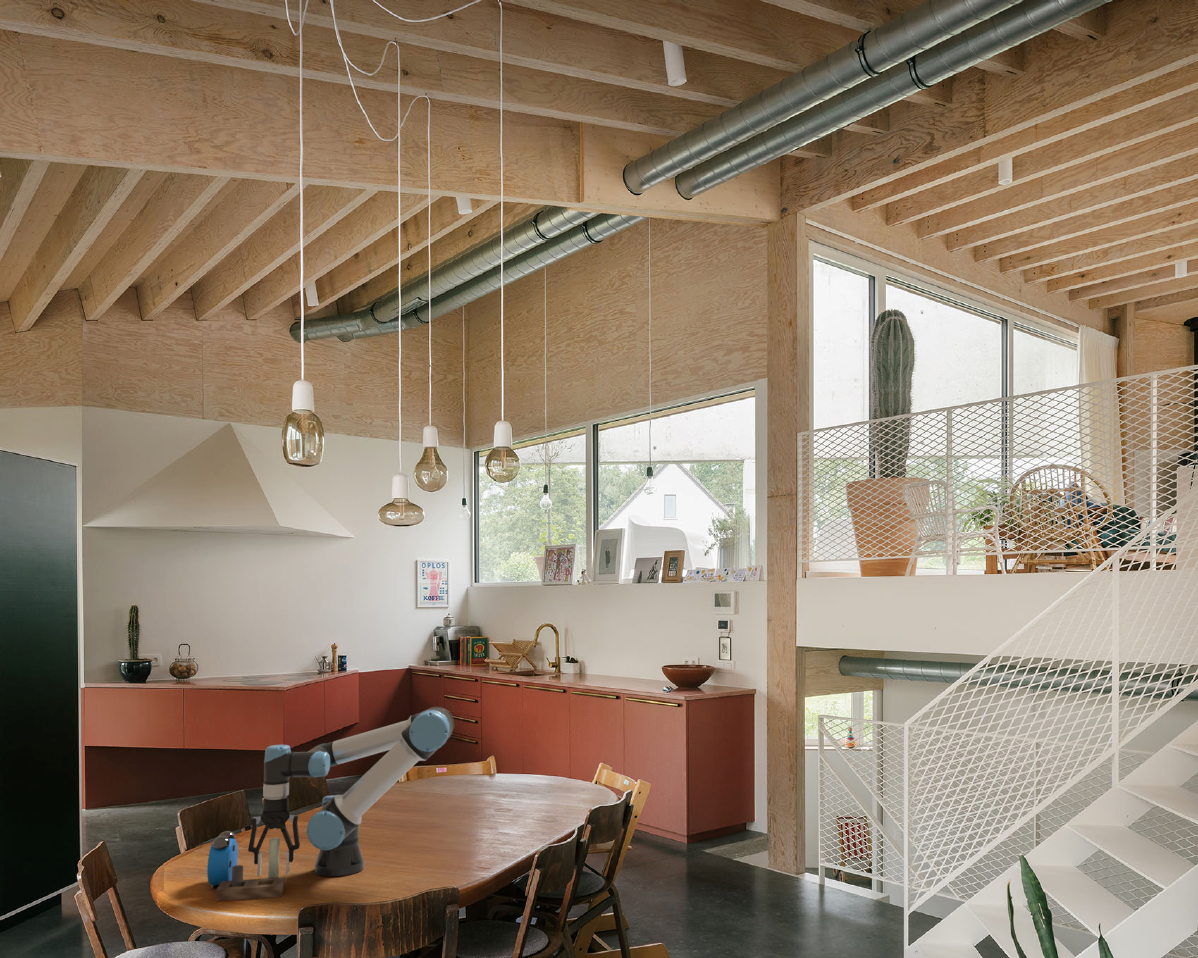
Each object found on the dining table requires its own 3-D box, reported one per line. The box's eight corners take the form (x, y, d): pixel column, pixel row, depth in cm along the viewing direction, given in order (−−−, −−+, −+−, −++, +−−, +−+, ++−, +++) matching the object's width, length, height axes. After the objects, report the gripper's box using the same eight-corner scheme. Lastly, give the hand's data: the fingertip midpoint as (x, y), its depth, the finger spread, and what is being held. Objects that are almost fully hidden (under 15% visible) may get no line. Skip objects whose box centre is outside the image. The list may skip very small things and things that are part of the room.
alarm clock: (217, 878, 296) (219, 828, 298) (237, 877, 297) (239, 827, 299) (205, 891, 283) (208, 839, 285) (227, 890, 284) (229, 838, 286)
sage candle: (278, 881, 293) (280, 837, 295) (277, 884, 290) (279, 839, 292) (268, 881, 292) (270, 837, 294) (267, 884, 289) (268, 840, 291)
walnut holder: (284, 887, 287) (285, 859, 288) (281, 896, 278) (282, 867, 279) (221, 891, 283) (222, 863, 284) (215, 900, 274) (216, 871, 275)
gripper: (311, 792, 300) (309, 868, 297) (242, 796, 296) (240, 872, 293) (309, 797, 293) (307, 875, 290) (239, 801, 289) (236, 879, 286)
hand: (273, 873), depth 291 cm, fingers open, 8 cm apart
